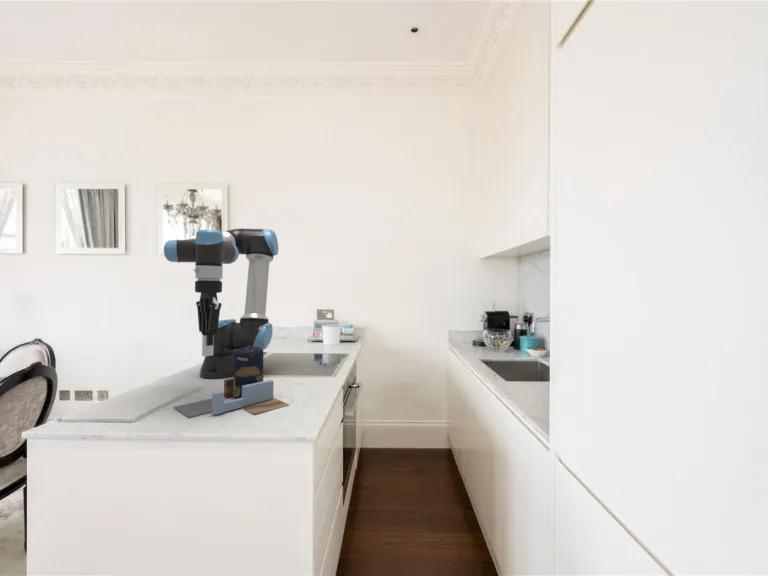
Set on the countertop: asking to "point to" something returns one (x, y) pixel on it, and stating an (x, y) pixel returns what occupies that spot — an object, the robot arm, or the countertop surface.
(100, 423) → the countertop surface
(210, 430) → the countertop surface
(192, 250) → the robot arm
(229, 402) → the tie jaw
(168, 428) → the countertop surface
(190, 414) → the mat
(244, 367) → the canister
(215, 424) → the countertop surface
